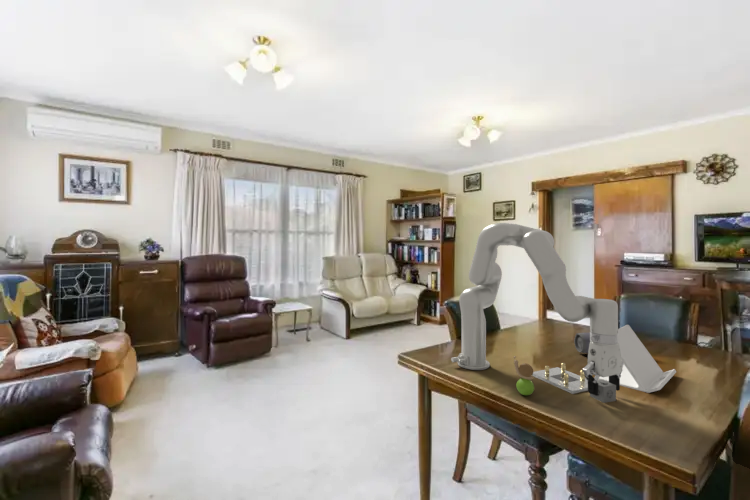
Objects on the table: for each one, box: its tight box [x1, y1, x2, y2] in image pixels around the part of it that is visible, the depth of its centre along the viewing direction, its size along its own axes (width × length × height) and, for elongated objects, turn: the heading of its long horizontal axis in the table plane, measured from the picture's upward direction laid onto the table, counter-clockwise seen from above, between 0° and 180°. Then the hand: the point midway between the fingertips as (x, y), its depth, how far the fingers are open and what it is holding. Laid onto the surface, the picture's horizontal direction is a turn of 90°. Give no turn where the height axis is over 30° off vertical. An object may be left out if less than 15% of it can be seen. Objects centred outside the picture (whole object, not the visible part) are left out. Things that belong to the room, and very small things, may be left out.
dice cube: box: [589, 379, 617, 404], centre depth 115 cm, size 5×5×5 cm
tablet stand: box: [598, 324, 677, 394], centre depth 131 cm, size 18×25×17 cm
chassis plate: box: [532, 362, 588, 395], centre depth 129 cm, size 14×18×4 cm
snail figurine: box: [513, 355, 535, 396], centre depth 118 cm, size 5×6×12 cm
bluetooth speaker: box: [573, 332, 590, 354], centre depth 157 cm, size 23×9×10 cm, turn 84°
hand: (603, 391), depth 115 cm, fingers open, 9 cm apart
